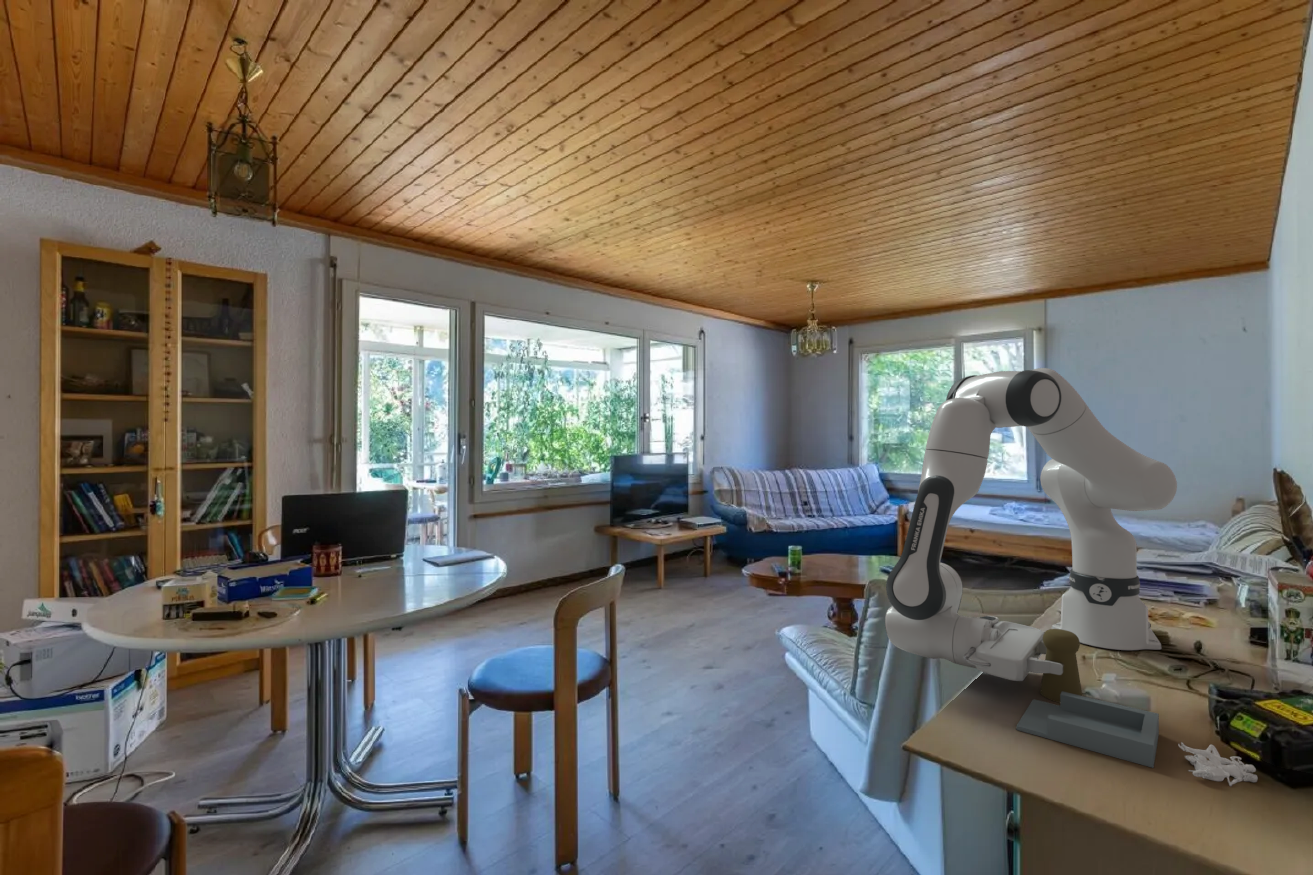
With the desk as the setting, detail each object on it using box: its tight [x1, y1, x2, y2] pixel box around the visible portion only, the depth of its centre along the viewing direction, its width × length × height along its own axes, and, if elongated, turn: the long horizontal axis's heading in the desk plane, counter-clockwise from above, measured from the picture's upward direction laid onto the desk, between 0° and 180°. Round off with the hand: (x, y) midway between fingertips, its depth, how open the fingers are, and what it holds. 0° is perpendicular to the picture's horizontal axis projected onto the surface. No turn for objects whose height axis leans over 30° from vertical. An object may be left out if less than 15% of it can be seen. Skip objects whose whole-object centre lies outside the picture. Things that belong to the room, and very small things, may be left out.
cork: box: [1039, 628, 1083, 703], centre depth 103 cm, size 6×6×11 cm
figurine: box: [1178, 741, 1259, 787], centre depth 80 cm, size 3×8×8 cm
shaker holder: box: [1016, 691, 1160, 769], centre depth 91 cm, size 12×16×3 cm
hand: (1067, 661), depth 103 cm, fingers open, 7 cm apart
